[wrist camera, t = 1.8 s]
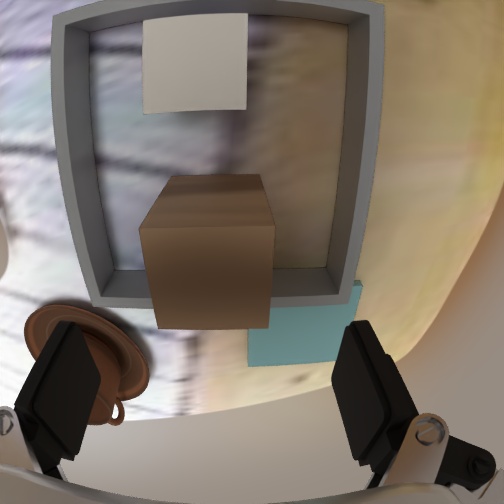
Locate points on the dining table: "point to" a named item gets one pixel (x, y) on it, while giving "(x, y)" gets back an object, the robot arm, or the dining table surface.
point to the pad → (302, 333)
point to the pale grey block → (195, 63)
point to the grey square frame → (352, 155)
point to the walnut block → (210, 253)
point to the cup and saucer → (96, 357)
